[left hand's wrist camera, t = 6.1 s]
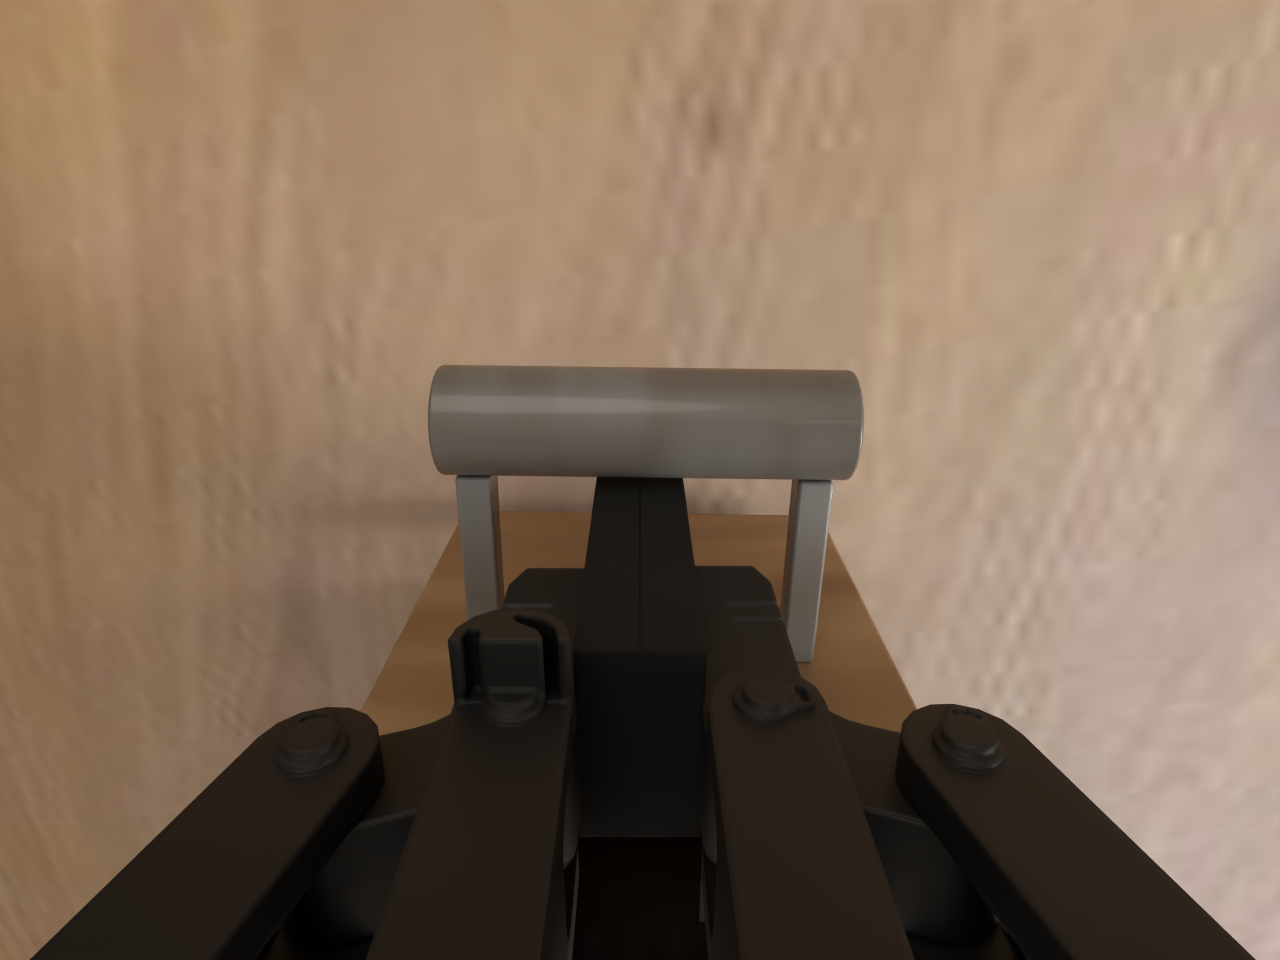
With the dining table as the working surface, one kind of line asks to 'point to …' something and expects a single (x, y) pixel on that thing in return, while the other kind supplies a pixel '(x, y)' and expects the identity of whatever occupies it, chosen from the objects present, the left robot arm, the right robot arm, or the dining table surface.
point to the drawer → (773, 544)
